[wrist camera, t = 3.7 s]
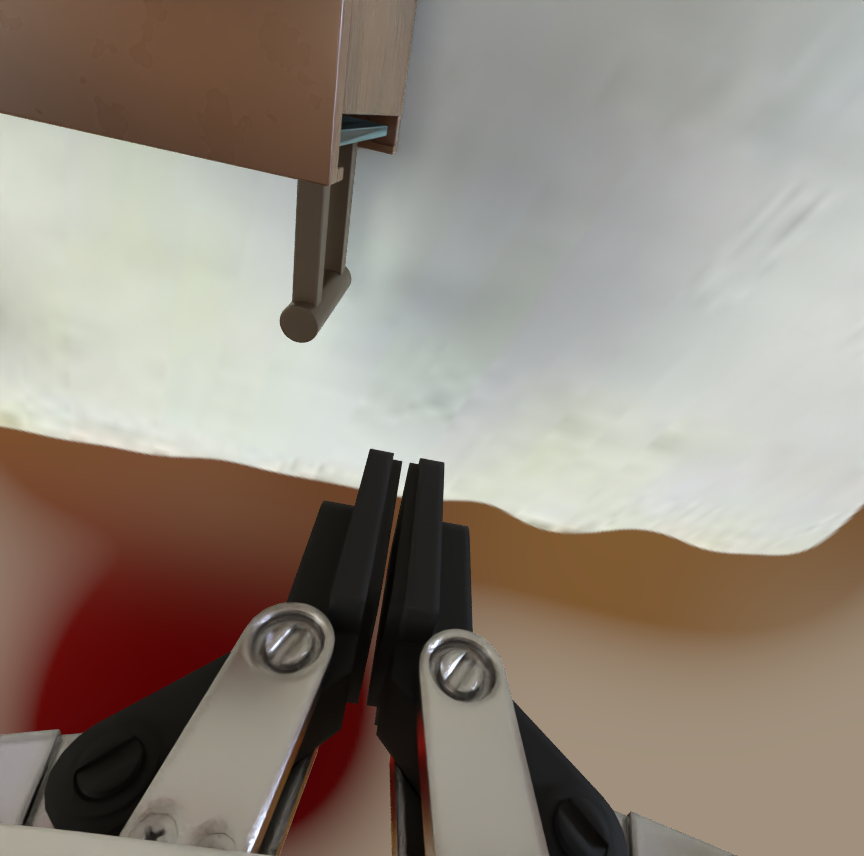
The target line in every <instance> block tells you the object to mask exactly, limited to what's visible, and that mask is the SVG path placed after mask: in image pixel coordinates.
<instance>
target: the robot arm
mask: <svg viewBox="0 0 864 856" xmlns="http://www.w3.org/2000/svg"><path fill="white" fill-rule="evenodd" d="M393 456H394V453H390V452H385V451H380V450H374V449H370V451H369V454H368V458H367V462H366V466H365V469H364V473H363V477H362V481H361V484H360V488H359V492H358V495H357V499H356V503H355V506H351V505H346V504H340V503H334V502H329V501H323V503H322V505H321V507H320V510H319V513H318V516H317V518H316V521H315V524H314V527H313V530H312V532H311V535H310V538H309V541H308V544H307V546H306V549H305V552H304V555H303V557H302V560H301V563H300V566H299V569H298V572H297V574H296V577H295V580H294V583H293V586H292V589H291V591H290V594H289V597H288V600H287V602H286V603H280V604H278V605H275V606H272V607H269V608H267V609H265V610H264V611H263V612H261V613H259V614H258V615H257V616H255V617H254V619H253V620H252V621H251V622H250V623H249V625H248V626H247V627H246V629H245V630H244V632H243V634H242V635H241V637H240V639H239V640H238V642H237V643H236V645H235V647H234V649H233V650H232V651H231V652H229V653H227V654H225V655H224V656H222V657H220V658H218V659H216V660H215V661H212V662H211V663H209V664H207V665H205V666H203V667H201V668H199V669H198V670H196V671H194V672H192V673H190V674H188V675H186V676H184V677H183V678H181V679H179V680H177V681H175V682H173V683H172V684H170V685H168V686H166V687H164V688H162V689H160V690H158V691H157V692H155V693H153V694H151V695H149V696H147V697H146V698H144V699H142V700H140V701H138V702H136V703H134V704H132V705H130V706H129V707H127V708H125V709H123V710H121V711H119V712H117V713H116V714H114V715H112V716H110V717H108V718H106V719H104V720H103V721H101V722H99V723H97V724H95V725H94V726H92V727H91V728H90V729H88V730H87V731H85V732H84V733H81V734H72V735H61V733H60V730H47V731H36V732H26V733H15V734H5V735H0V856H279V855H280V852H281V849H282V847H283V844H284V841H285V838H286V836H287V833H288V830H289V828H290V825H291V822H292V819H293V816H294V814H295V811H296V808H297V806H298V803H299V800H300V798H301V795H302V792H303V789H304V787H305V784H306V781H307V779H308V776H309V773H310V770H311V767H312V765H313V762H314V760H315V757H316V754H317V750H318V746H319V745H321V744H322V743H323V742H325V741H326V740H327V739H329V738H330V737H331V736H333V735H334V734H335V733H337V732H338V731H339V730H340V729H341V727H342V721H343V716H344V711H345V706H346V702H350V703H356V704H357V703H358V699H359V695H360V690H361V686H362V681H363V676H364V672H365V667H366V662H367V658H368V653H369V648H370V644H371V639H372V634H373V630H374V625H375V621H376V616H377V611H378V606H379V600H380V595H381V590H382V584H383V577H384V571H385V565H386V559H387V553H388V547H389V540H390V533H391V527H392V521H393V516H394V509H395V503H396V497H397V491H398V485H399V479H400V472H401V466H402V461H398V460H393ZM443 489H444V462H438V461H433V460H428V459H422V458H420V461H419V464H414V463H410V464H409V468H408V473H407V477H406V482H405V487H404V491H403V496H402V500H401V505H400V510H399V514H398V519H397V524H396V528H395V533H394V537H393V542H392V547H391V552H390V557H389V564H388V569H387V576H386V583H385V589H384V595H383V601H382V608H381V615H380V621H379V628H378V633H377V640H376V647H375V653H374V659H373V666H372V672H371V678H370V685H369V691H368V698H367V705H369V706H376V707H377V710H376V717H375V725H378V726H377V736H378V737H379V739H380V740H381V742H382V743H383V744H384V746H385V747H386V749H387V750H388V752H389V753H390V761H389V772H390V773H389V774H390V806H391V808H390V809H391V845H392V856H736V855H734V854H732V853H729V852H727V851H725V850H722V849H720V848H717V847H715V846H713V845H710V844H708V843H705V842H703V841H701V840H698V839H696V838H694V837H691V836H689V835H686V834H684V833H682V832H679V831H677V830H674V829H672V828H670V827H667V826H665V825H663V824H660V823H658V822H655V821H653V820H651V819H648V818H646V817H643V816H641V815H639V814H636V813H634V812H630V813H629V814H628V815H627V816H626V815H623V814H621V813H618V812H616V811H614V810H612V808H611V807H610V806H609V804H608V803H607V802H606V800H605V799H604V798H603V796H602V795H601V794H600V793H599V792H598V791H597V790H596V789H595V788H594V787H593V786H592V785H591V784H590V782H589V781H588V780H587V779H586V778H585V777H584V776H583V775H582V774H581V773H580V772H579V771H578V770H577V769H576V768H575V766H573V764H572V763H571V762H570V761H569V760H568V759H567V758H566V757H565V756H564V755H563V753H561V752H560V750H559V749H558V748H557V747H556V746H555V745H554V744H553V743H552V742H551V741H550V740H549V738H548V737H546V735H545V734H544V733H543V732H542V731H541V730H540V729H539V728H538V727H537V726H536V725H535V723H534V722H533V721H532V720H531V719H530V718H529V717H528V716H527V715H526V714H525V713H524V712H523V711H522V709H520V707H519V706H518V705H517V704H516V703H515V702H514V701H513V700H512V697H511V693H510V689H509V685H508V681H507V676H506V672H505V668H504V666H503V663H502V660H501V658H500V656H499V654H498V653H497V652H496V650H495V649H494V648H493V647H492V645H491V644H489V643H488V642H487V641H486V640H485V639H484V638H482V637H481V636H479V635H477V634H475V633H473V629H472V599H471V569H470V538H469V537H470V536H469V528H468V526H463V525H457V524H452V523H446V522H442V517H443Z"/></svg>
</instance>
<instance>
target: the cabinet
mask: <svg viewBox="0 0 864 856" xmlns="http://www.w3.org/2000/svg"><path fill="white" fill-rule="evenodd" d="M416 8H417V0H0V113H2V114H7V115H11V116H16V117H20V118H25V119H29V120H34V121H38V122H43V123H47V124H52V125H56V126H60V127H65V128H69V129H74V130H78V131H83V132H87V133H92V134H96V135H101V136H105V137H110V138H114V139H119V140H123V141H128V142H132V143H136V144H141V145H145V146H150V147H154V148H159V149H163V150H168V151H172V152H177V153H181V154H186V155H190V156H195V157H199V158H203V159H208V160H212V161H217V162H221V163H226V164H230V165H235V166H239V167H244V168H248V169H253V170H257V171H262V172H266V173H271V174H275V175H279V176H284V177H288V178H293V179H297V180H302V181H306V182H311V183H315V184H320V185H324V186H329V185H331V184H333V183H336V182H339V181H341V180H342V179H343V170H344V168H343V167H342V166H338V158H339V146H340V134H341V122H342V115H345V116H349V117H354V118H358V119H362V120H366V121H371V122H375V123H379V124H384V125H387V126H388V128H387V135H386V136H383V137H378V138H374V139H369V140H365V141H360V142H358V144H357V146H358V147H362V148H366V149H371V150H375V151H379V152H384V153H388V154H394V153H395V152H396V151H397V144H398V137H399V129H400V122H401V115H402V108H403V101H404V94H405V86H406V79H407V72H408V65H409V58H410V51H411V43H412V36H413V29H414V22H415V15H416Z"/></svg>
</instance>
